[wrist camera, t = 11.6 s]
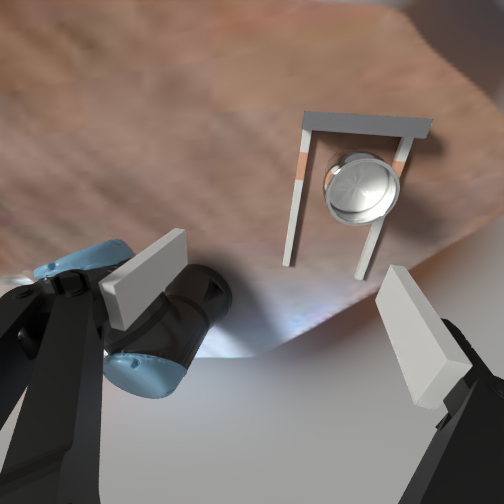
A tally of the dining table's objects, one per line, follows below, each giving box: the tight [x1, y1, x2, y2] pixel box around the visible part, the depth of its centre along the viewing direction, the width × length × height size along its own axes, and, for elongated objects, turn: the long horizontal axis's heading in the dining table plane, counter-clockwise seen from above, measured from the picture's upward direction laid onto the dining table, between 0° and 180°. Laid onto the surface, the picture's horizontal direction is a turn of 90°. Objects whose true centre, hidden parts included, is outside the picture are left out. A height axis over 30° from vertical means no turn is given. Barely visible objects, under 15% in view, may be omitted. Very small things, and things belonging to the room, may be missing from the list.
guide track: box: [283, 111, 433, 280], centre depth 36 cm, size 25×14×5 cm, turn 176°
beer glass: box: [323, 148, 400, 226], centre depth 29 cm, size 7×7×15 cm
